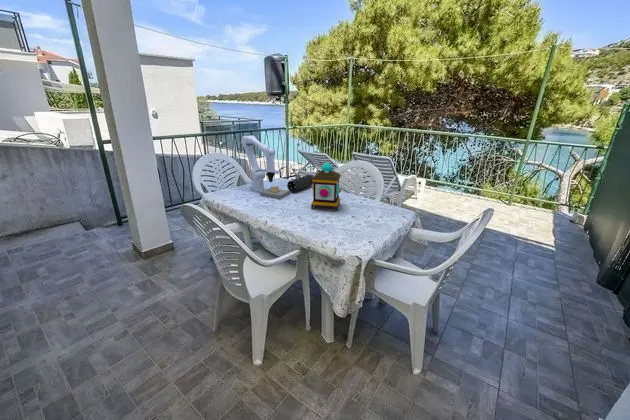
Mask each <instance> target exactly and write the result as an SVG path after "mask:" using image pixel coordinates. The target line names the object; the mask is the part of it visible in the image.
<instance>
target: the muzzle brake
mask: <svg viewBox="0 0 630 420" xmlns="http://www.w3.org/2000/svg"><path fill="white" fill-rule="evenodd" d="M314 176H315V175H312V174H305V175H303V176H301V177H298V178H296V179H295V178H294V179H292V180H289V181H288V182H287V184H286V187H287V189H288V191H290V193H291V194H292V193H296V192H298V191H300V190H301V191H302V189H307V188H308V187H310V186H313V181H312V178H313V177H314Z"/></svg>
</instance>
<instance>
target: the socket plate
mask: <svg viewBox="0 0 630 420" xmlns="http://www.w3.org/2000/svg"><path fill="white" fill-rule="evenodd" d="M259 194H260V195H261V196H260V195H259V196H260V197H264V196H265V197H264V198H269V197H271V198H270V199H275V198H276V199H275V200H282V199H284V198H286V197H288V196H290V195H291V191H289V190H287V189H280V188H279V192H277V193H273V192H271V187H269V188H266V190H264V191H261V192H259Z"/></svg>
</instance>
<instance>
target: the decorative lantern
mask: <svg viewBox="0 0 630 420" xmlns="http://www.w3.org/2000/svg"><path fill="white" fill-rule="evenodd" d="M313 176H314V177H313V178H312V181H313V185H311V186H312V187H311V189H312V192H313V193H312V194H313V195H312V196H313V197H312V202H311V205H310V208H311V210H314V209H315V208H314V207H325V208H327V207H328V208H334V211H335V212H337V211H338V206H339V204H340V203H341V198H340V195H339V194H341V192H342V188H341V187H340V179H341V176H342V174H341V173H339V172H336V171H335V170H334V169H333V166H332V165H331V164H330V163H329V162H325V163H324V164H323V165H322V166H321V170H319V171H318V172H316V174H314V175H313Z"/></svg>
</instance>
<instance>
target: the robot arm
mask: <svg viewBox="0 0 630 420" xmlns="http://www.w3.org/2000/svg"><path fill="white" fill-rule="evenodd" d="M256 137H257V136H254V135H252V134H251V135H243V136H241V139H240V142H241V145H242V147H243V149H244V152H245V154H246V157H247V159H248V161H249V163H250V166H251V169H252V170H251V171H250V173H251V177H252V179H251V191H252V190H254V191H253V192H258V191H260V192H262V191H263V190H267V188H265V187H264V186H265V185H264V184H265V183H264V180H265V178H266V177H267V179H268V181H269V182H268V183H272V182H274V181H273V180H274V177H275V175H276V174H277V175H278V174H280V170H276V169H275V158H274V156H275V155H276V150H275V149H274V147H270V146H269V145H267V144H266V143H265V142H261V141H259V140H258V139H257V138H256ZM254 146H256V147H258V150H260V151H261V152H262V153H263V154H264V158H265V162H266V168H262V167H261V166H259V164H258V161H257V159H256V156H255V153H254V151H253V147H254ZM260 192H259V193H260Z"/></svg>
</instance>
